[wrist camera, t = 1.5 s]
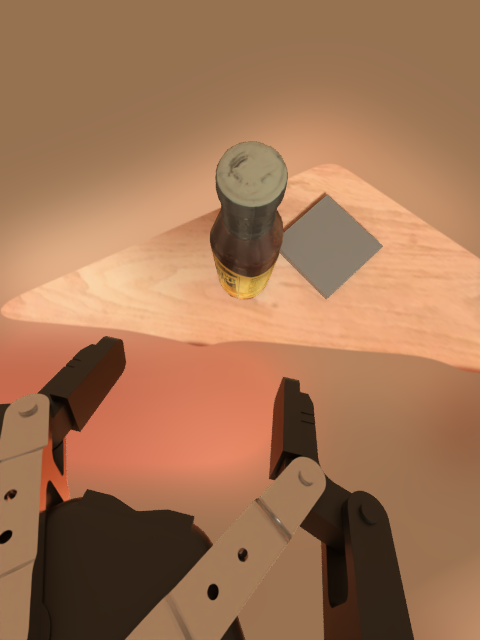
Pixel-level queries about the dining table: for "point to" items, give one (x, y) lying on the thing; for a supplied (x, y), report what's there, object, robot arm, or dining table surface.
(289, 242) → the rubber mat
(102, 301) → the dining table surface
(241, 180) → the sauce bottle
